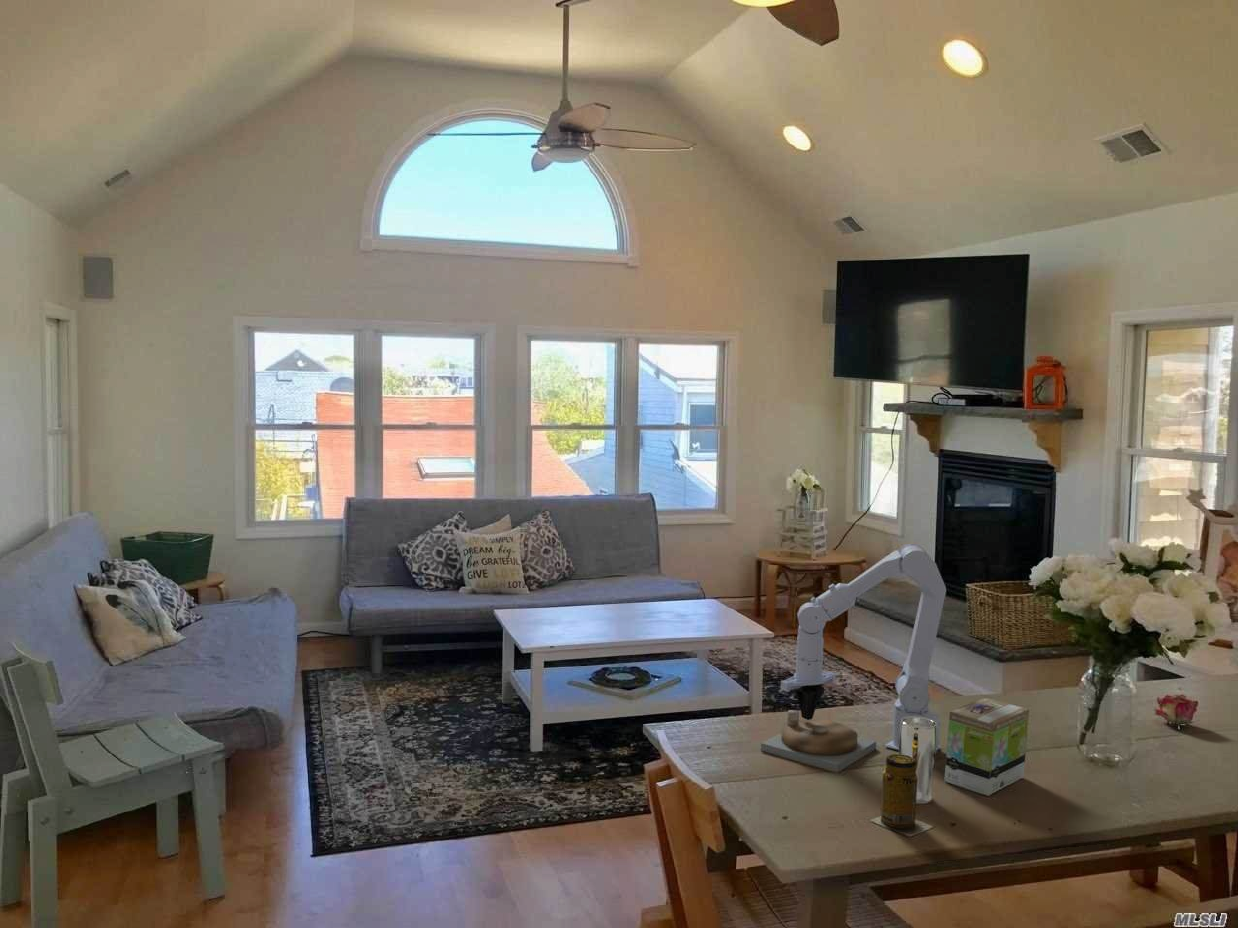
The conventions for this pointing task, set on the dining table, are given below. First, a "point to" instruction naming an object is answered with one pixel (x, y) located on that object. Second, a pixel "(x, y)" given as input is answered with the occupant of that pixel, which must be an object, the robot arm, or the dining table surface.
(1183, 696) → the flower
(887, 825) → the condiment
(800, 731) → the handwheel
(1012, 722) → the tea box
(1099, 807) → the dining table surface
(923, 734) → the beer glass
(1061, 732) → the dining table surface
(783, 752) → the base plate
